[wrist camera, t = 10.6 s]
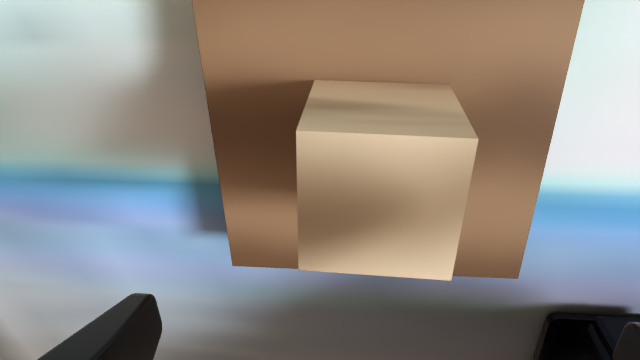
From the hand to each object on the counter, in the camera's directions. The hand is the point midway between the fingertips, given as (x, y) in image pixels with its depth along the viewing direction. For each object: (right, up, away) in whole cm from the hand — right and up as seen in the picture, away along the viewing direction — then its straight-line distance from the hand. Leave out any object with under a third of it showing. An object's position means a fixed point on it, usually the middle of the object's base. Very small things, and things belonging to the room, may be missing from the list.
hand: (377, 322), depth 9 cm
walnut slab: (+1, +6, +10) cm, 12 cm away
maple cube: (+1, +4, +7) cm, 9 cm away
